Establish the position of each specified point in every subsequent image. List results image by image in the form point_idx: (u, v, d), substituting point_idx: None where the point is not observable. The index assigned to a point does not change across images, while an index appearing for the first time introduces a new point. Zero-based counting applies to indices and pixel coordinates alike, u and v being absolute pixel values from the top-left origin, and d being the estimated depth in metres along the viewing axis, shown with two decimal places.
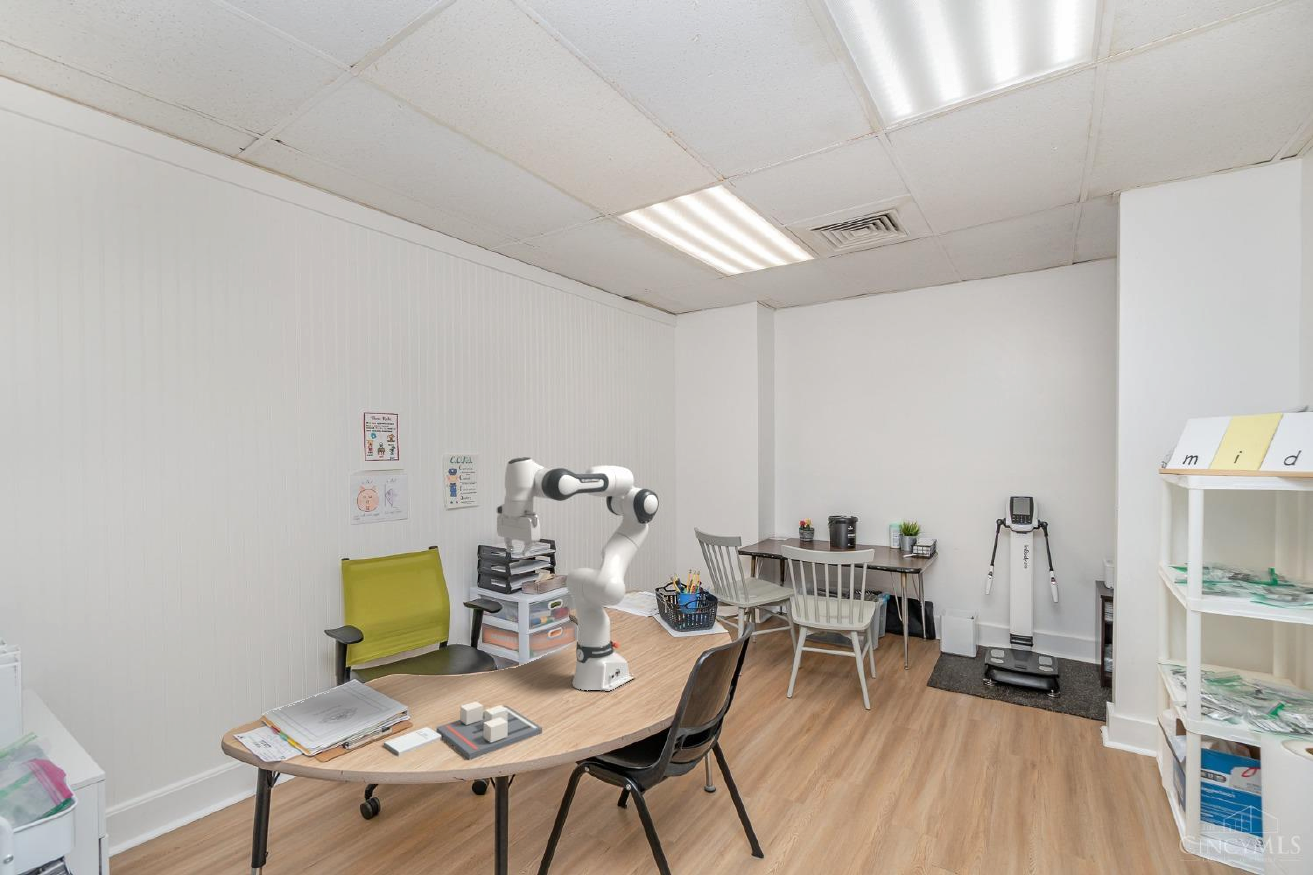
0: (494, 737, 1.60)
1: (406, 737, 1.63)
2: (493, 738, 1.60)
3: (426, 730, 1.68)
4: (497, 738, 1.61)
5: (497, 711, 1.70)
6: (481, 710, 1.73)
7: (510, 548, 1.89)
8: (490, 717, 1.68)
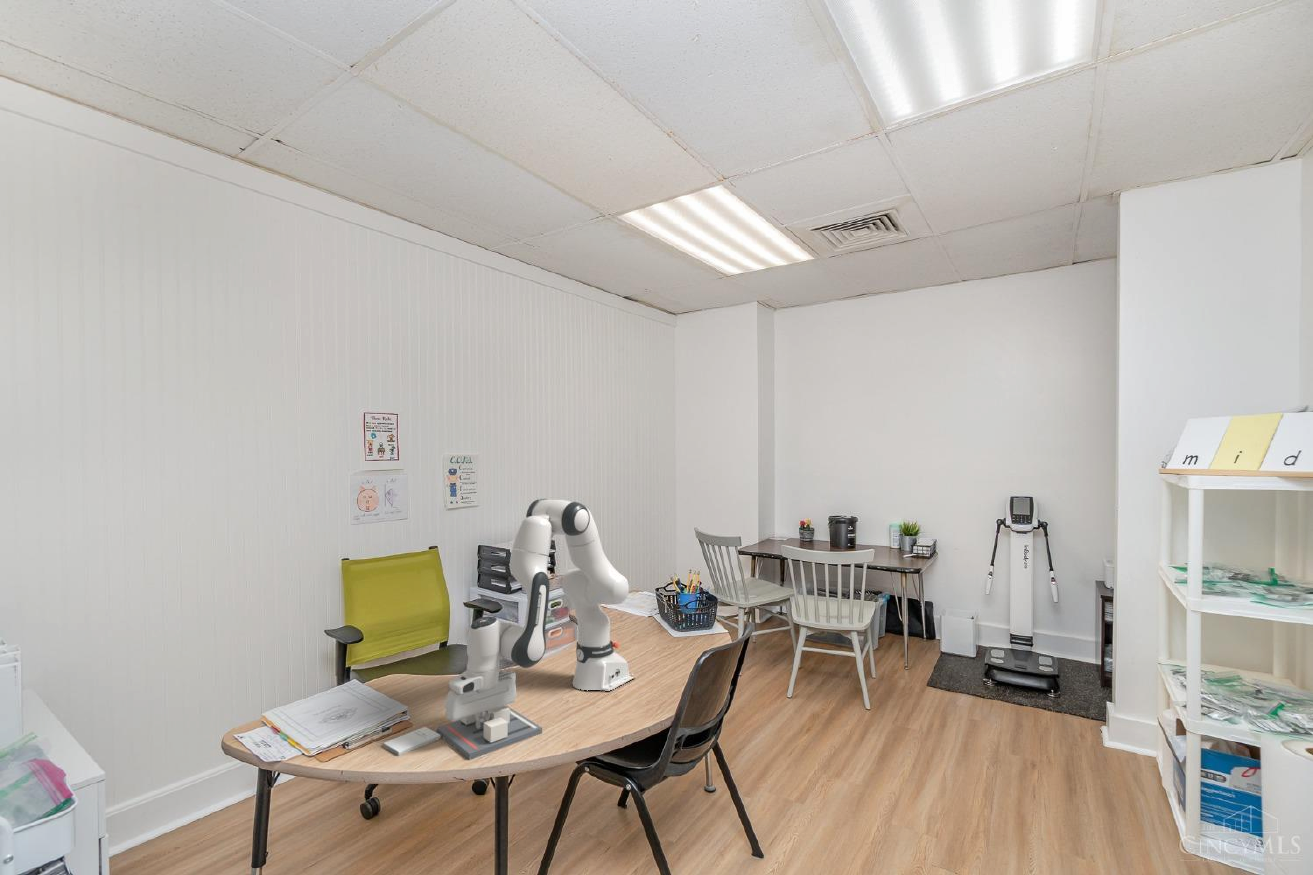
0: (494, 737, 1.60)
1: (405, 738, 1.63)
2: (493, 738, 1.60)
3: (424, 730, 1.68)
4: (497, 738, 1.61)
5: (499, 710, 1.70)
6: None
7: None
8: (492, 717, 1.68)
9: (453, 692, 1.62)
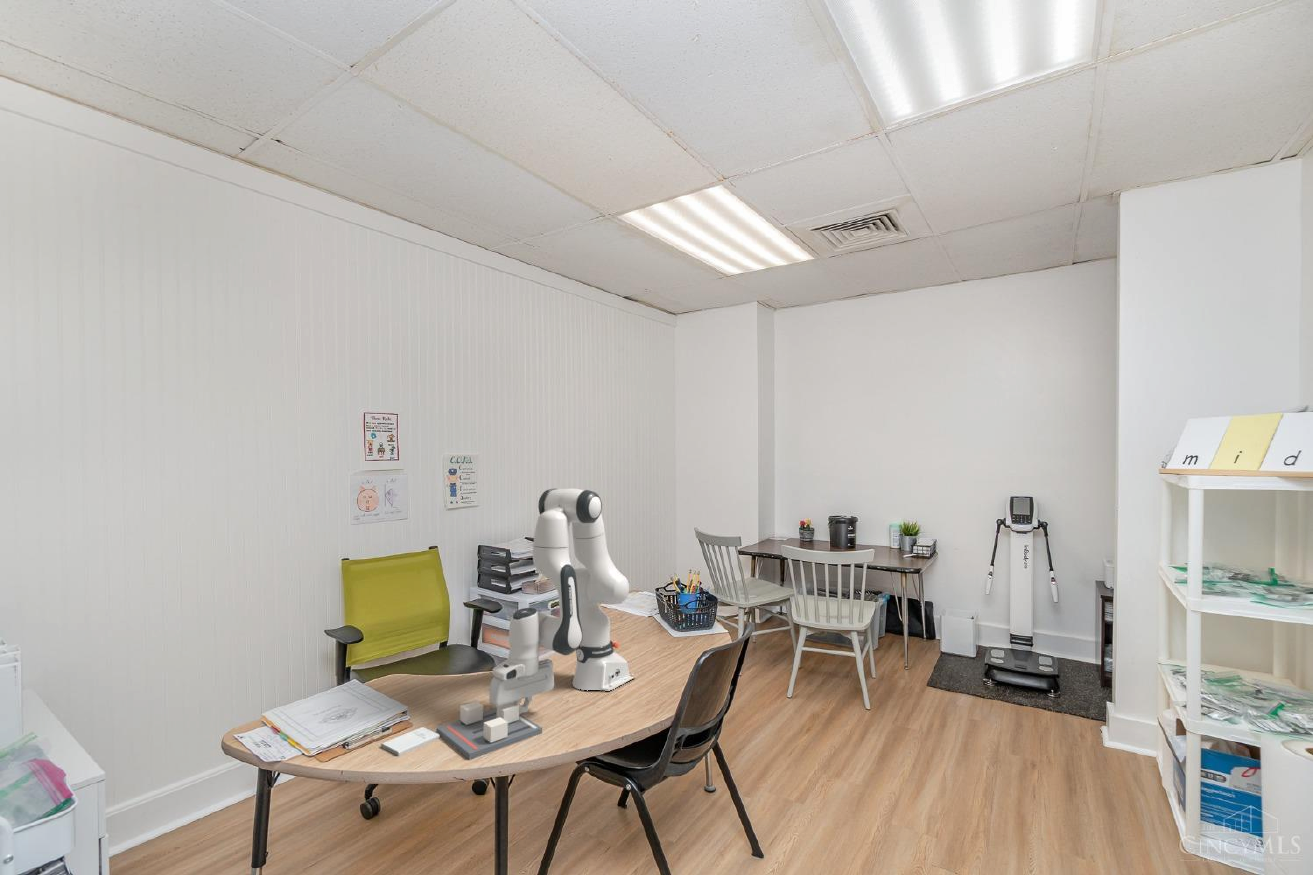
0: (494, 737, 1.60)
1: (404, 738, 1.63)
2: (493, 738, 1.60)
3: (422, 730, 1.68)
4: (497, 738, 1.61)
5: (509, 707, 1.72)
6: (481, 710, 1.73)
7: None
8: (502, 713, 1.70)
9: (497, 678, 1.71)
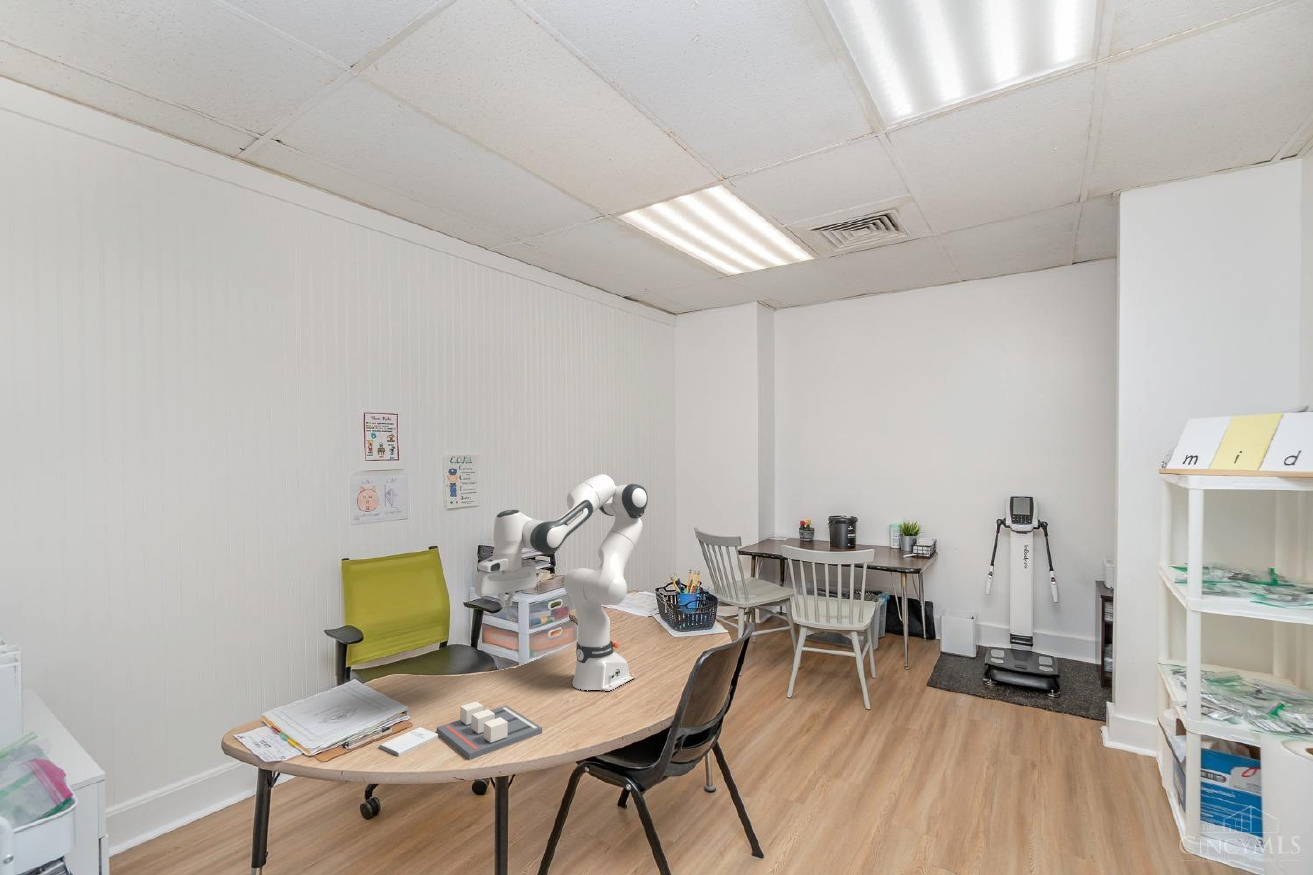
0: (494, 737, 1.60)
1: (402, 738, 1.63)
2: (493, 738, 1.60)
3: (420, 730, 1.68)
4: (497, 738, 1.61)
5: (484, 715, 1.67)
6: (481, 710, 1.73)
7: None
8: (477, 722, 1.65)
9: (481, 571, 1.82)
